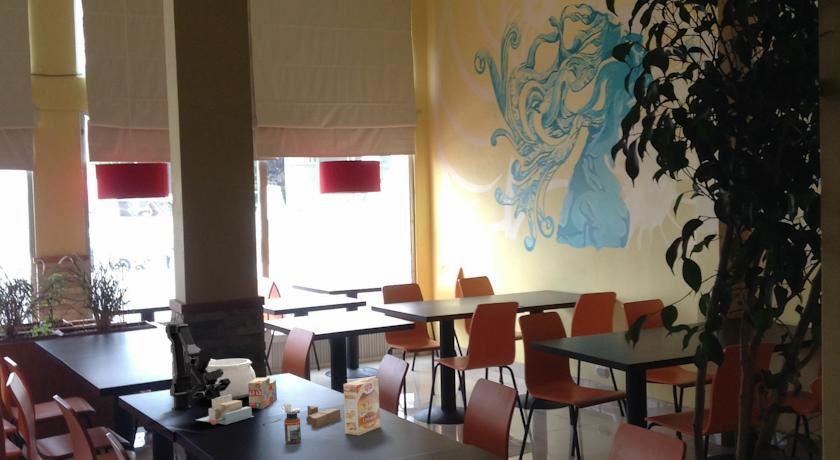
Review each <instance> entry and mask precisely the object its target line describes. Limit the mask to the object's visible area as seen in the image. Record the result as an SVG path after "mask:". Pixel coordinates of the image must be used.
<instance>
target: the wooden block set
mask: <svg viewBox="0 0 840 460" xmlns="http://www.w3.org/2000/svg"><path fill="white" fill-rule="evenodd" d="M306 406H307V407H306V408H307V416H306V418H305V420H306V422H307V424H310V426H311V427H312V428H313V429H318V428H321V427H323V426H326V425H329V424H332V423H335V422H337V421H339V420H341V409H340V408H328V409H323V410H321V411H319V407H318V406H314V405H313V406H311V405H306Z"/></svg>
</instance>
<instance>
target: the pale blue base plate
mask: <svg viewBox="0 0 840 460" xmlns="http://www.w3.org/2000/svg"><path fill="white" fill-rule="evenodd" d="M252 411H253V410H252V408H251V407H249V406H244V407H243V406H242V408H240V409H236V410H232V411H229V412H225V413H222V418H220V419H217V420H216V419H212V420H211V421H210V420H209V415H207V416H204V417H201V418H198V419H196V421H200V422H206V423H210V424H211V425H214V426H215V425H216V424H220V425H229V424H232V423H236V422H239V421H243V420H246V419H250V418H253V417H255V416H254V415H253V412H252Z"/></svg>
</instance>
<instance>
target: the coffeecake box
mask: <svg viewBox="0 0 840 460" xmlns="http://www.w3.org/2000/svg"><path fill="white" fill-rule="evenodd" d="M342 385H343V387H342V388H343V409H344V410H343V411H344V434H346V435H353V436H361V435H363V434H366V433H368V432H371V431H374V430H376V429H378V428H380V427H381V418H380V417H381V415H380V412H381V411H380V392H379V391H380V389H379V378H374V377H373V378H371V377H363V378H361V379H357V380H353V381H349V382H346V383H343V384H342Z"/></svg>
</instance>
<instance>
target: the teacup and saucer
mask: <svg viewBox="0 0 840 460" xmlns="http://www.w3.org/2000/svg"><path fill="white" fill-rule="evenodd" d="M283 407H284V408H283ZM281 409H282V411H281V412H283V413H287V412H293V411H294V412H297V413H299V412H300V411H301V408H300V407H297V408H293V409H292V403H291V402H290V403H289V402H288V403H285V404H282V405H281Z"/></svg>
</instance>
